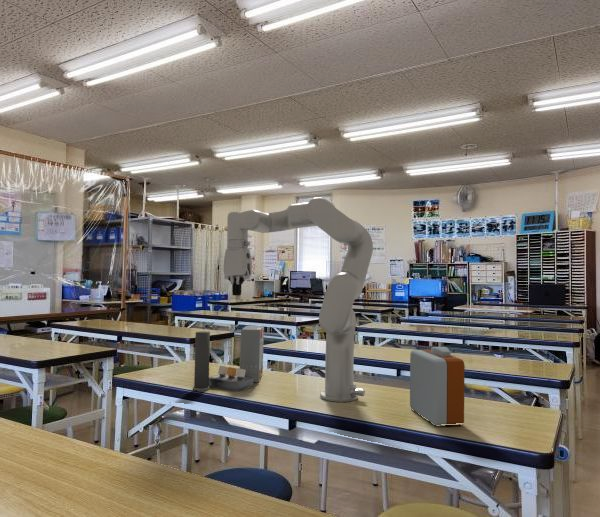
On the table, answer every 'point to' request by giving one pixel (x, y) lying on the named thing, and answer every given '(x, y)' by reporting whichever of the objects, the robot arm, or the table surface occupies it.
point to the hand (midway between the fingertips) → (236, 295)
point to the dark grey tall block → (202, 361)
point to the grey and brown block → (437, 385)
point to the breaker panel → (230, 382)
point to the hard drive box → (252, 351)
